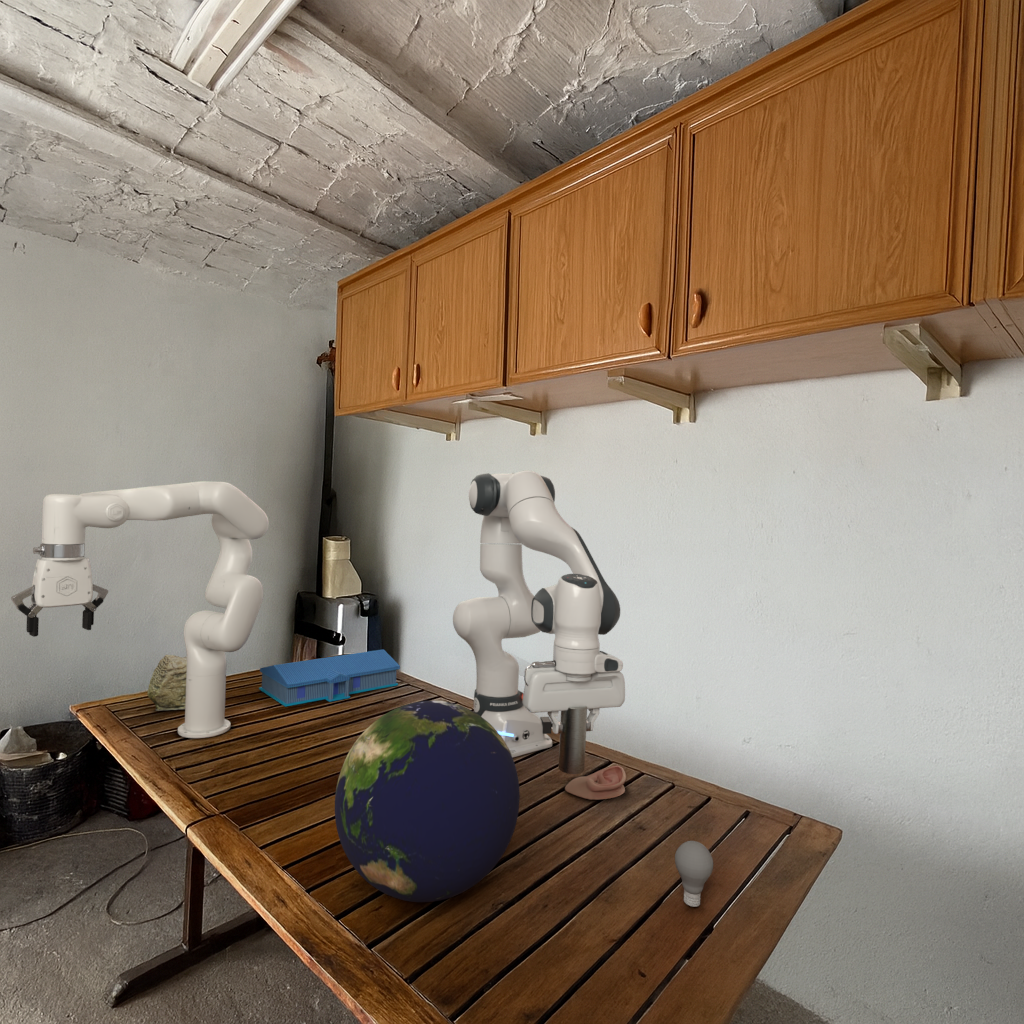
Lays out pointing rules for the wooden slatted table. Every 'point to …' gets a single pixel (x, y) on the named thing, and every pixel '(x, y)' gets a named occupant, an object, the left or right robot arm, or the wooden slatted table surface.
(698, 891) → the light bulb
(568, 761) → the tin
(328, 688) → the model building
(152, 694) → the fossil
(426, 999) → the wooden slatted table surface
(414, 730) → the globe
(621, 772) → the rubber human ear
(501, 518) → the right robot arm
